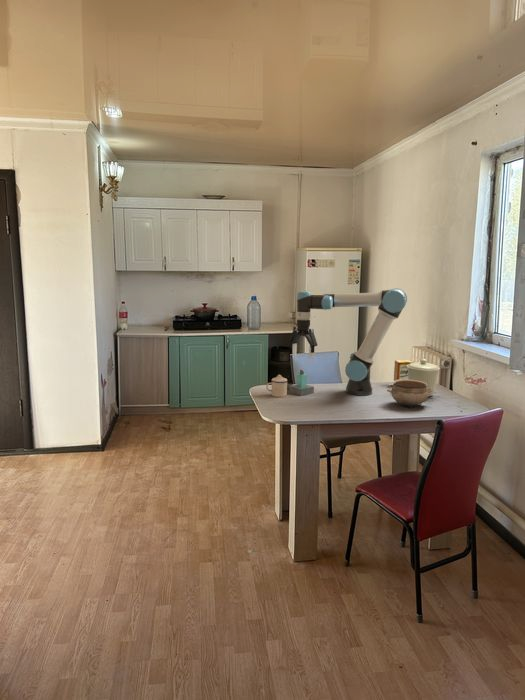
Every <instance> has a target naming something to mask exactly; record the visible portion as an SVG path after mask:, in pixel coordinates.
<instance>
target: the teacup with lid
mask: <svg viewBox="0 0 525 700" xmlns="http://www.w3.org/2000/svg"><path fill="white" fill-rule="evenodd" d="M270 381H271V382H268V383H266V385H265V388H266V390H267V391H268V392H270V393H271V396H272V397H276V398H284V397H286V396H287V395H288V391H287V384H288V379H287V378H285V377H283V376H282V375H281V374H278V375H277V376H276V377H273V378H272V379H271V380H270ZM269 385H271V389H269V387H268V386H269Z"/></svg>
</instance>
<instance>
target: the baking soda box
mask: <svg viewBox="0 0 525 700" xmlns="http://www.w3.org/2000/svg"><path fill="white" fill-rule="evenodd" d="M410 363H415V362H414V361H412V360H410V359H409V360H408V359H407V360H406V359H405V360H404V359H403V360H398V359H397V360H394V368H393V369H394V371H393V381H395V380H400V379H408V368H407V365H409V364H410ZM393 385H394V383H393ZM393 385H392V386H393Z"/></svg>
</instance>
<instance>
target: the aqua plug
mask: <svg viewBox="0 0 525 700" xmlns="http://www.w3.org/2000/svg"><path fill="white" fill-rule="evenodd" d="M307 376H308V375H307V373H305V369H299V373H297V374H296V384H297V387H300V388H303V387H306V385H308V384H307V382H308V381H307V380H308V379H307V378H308V377H307Z"/></svg>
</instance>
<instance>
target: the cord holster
mask: <svg viewBox="0 0 525 700" xmlns="http://www.w3.org/2000/svg"><path fill="white" fill-rule="evenodd" d="M290 385H295V384H294V383H287V392H289V386H290Z"/></svg>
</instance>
